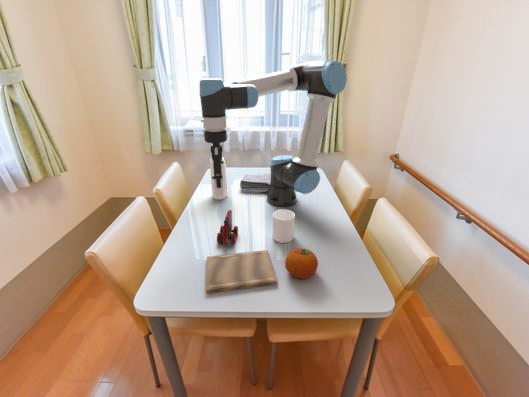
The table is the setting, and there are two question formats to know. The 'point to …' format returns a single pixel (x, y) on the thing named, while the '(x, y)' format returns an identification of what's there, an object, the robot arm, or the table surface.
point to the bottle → (223, 180)
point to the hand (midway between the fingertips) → (219, 187)
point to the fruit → (301, 263)
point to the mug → (283, 226)
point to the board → (239, 271)
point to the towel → (255, 183)
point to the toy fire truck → (227, 230)
